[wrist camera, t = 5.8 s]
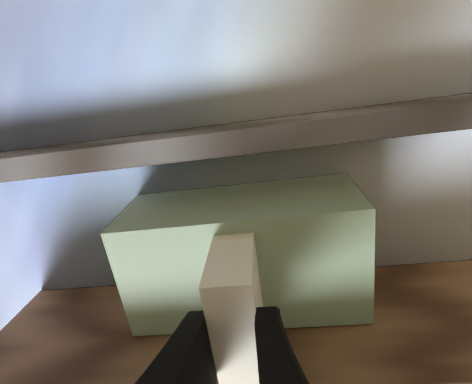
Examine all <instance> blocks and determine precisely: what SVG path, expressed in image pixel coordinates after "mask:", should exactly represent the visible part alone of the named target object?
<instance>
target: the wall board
mask: <svg viewBox="0 0 472 384" xmlns="http://www.w3.org/2000/svg"><path fill="white" fill-rule="evenodd" d="M465 129H472V93H468V94H460V95H452V96H444V97H437V98H429V99H421V100H413V101H405V102H397V103H389V104H381V105H373V106H365V107H357V108H349V109H341V110H333V111H325V112H317V113H309V114H301V115H293V116H285V117H278V118H270V119H262V120H254V121H246V122H238V123H230V124H222V125H214V126H206V127H198V128H190V129H182V130H174V131H166V132H158V133H150V134H142V135H134V136H126V137H119V138H111V139H103V140H95V141H87V142H79V143H71V144H63V145H55V146H47V147H39V148H31V149H23V150H15V151H7V152H0V183H1V182H10V181H18V180H27V179H36V178H45V177H54V176H62V175H71V174H80V173H89V172H97V171H106V170H115V169H124V168H132V167H141V166H150V165H159V164H167V163H176V162H185V161H194V160H202V159H211V158H220V157H229V156H237V155H246V154H255V153H264V152H272V151H281V150H290V149H299V148H307V147H316V146H325V145H334V144H343V143H351V142H360V141H369V140H378V139H386V138H395V137H404V136H413V135H421V134H430V133H439V132H448V131H456V130H465ZM284 329H285V332H286V334H287V337H288V340H289V342H290V344H291V347H292V349H293V351H294V353H295V355H296V358H297V360H298V362H299V364H300V366H301V368H302V370H303V372H304V374H305V376H306V378H307V380H308V382H309V383H310V384H472V260H466V261H452V262H438V263H424V264H410V265H396V266H382V267H375V274H374V324H359V325H339V326H320V327H301V328H284ZM171 335H172V334H167V335H148V336H133V335H132V332H131V329H130V326H129V322H128V319H127V316H126V313H125V310H124V307H123V304H122V301H121V297H120V294H119V291H118V288H117V285H116V286H102V287H88V288H74V289H60V290H46V291H40V292H39V293H38V294H37V295H36V296H35V297H34V298H33V299H32V300H31V301H30V302H29V303H28V304H27V305H26V306H25V307H24V308H23V309H22V310H21V311H20V312H19V313H18V314H17V315H16V316H15V317H14V318H13V319H12V320H11V321H10V322H9V323H8V324H7V325H6V326H5V327H4V328H3V329H2V330H1V331H0V384H134V383H135V382H136V381H137V380H138V379H139V377H140V376H141V375H142V374H143V372H144V371H145V370H146V369H147V367H148V366H149V365H150V364H151V362H152V361H153V360H154V358H155V357H156V356H157V354H158V353H159V352H160V350H161V349H162V348H163V346H164V345H165V344H166V342H167V341H168V339H169V338H170V337H171ZM216 384H219V383H218V378H217V377H216Z"/></svg>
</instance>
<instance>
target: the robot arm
mask: <svg viewBox="0 0 472 384" xmlns="http://www.w3.org/2000/svg"><path fill="white" fill-rule="evenodd" d="M254 327H255V339H256V351H257V362H258V374H259V384H310V383H309V382H308V380H307V378H306V376H305V374H304V372H303V370H302V368H301V366H300V364H299V362H298V360H297V358H296V355H295V353H294V351H293V349H292V347H291V344H290V342H289V340H288V337H287V334H286V332H285V329H284V326H283V322H282V319H281V314H280V309H279V308H278V307H276V306H269V307H256V314H255V322H254ZM216 377H217V372H216V367H215V363H214V358H213V353H212V349H211V344H210V339H209V334H208V330H207V325H206V320H205V317H204V312H203V310H201V311H189V312H188V313H187V314H186V315H185V317H184V318H183V320H182V321H181V322H180V324H179V325H178V327H177V328H176V330H175V331H174V332H173V334H172V335H171V337H170V338H169V339H168V341H167V342H166V344H165V345H164V346H163V348H162V349H161V350H160V352H159V353H158V354H157V356H156V357H155V358H154V360H153V361H152V362H151V364H150V365H149V366H148V367H147V369H146V370H145V371H144V372H143V374H142V375H141V376H140V377H139V379H138V380H137V381H136V382H135V383H134V384H216Z"/></svg>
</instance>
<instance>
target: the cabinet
mask: <svg viewBox="0 0 472 384" xmlns="http://www.w3.org/2000/svg"><path fill="white" fill-rule="evenodd" d="M375 223H376V209H375V207H374V206H373V205H372V204H371V202H370V201H369V200H368V199H367V198H366V196H365V195H364V194H363V193H362V191H361V190H360V189H359V188H358V187H357V185H356V184H355V183H354V182H353V180H352V179H351V178H350V177H349V176H348V174H347V173H342V174H333V175H323V176H314V177H304V178H294V179H285V180H275V181H266V182H256V183H246V184H237V185H227V186H218V187H208V188H198V189H189V190H179V191H170V192H160V193H150V194H141V195H137V196H136V197H135V198H134V199H133V200H132V201H131V202H130V203H129V205H128V206H127V207H126V208H125V209H124V210H123V211H122V212H121V213H120V214H119V215H118V216H117V217H116V218H115V219H114V220H113V221H112V222H111V223H110V224H109V225H108V226H107V227H106V228H105V230H104V231H103V232H102V233H101V234H100V235H101V238H102V241H103V244H104V247H105V250H106V253H107V257H108V260H109V263H110V266H111V269H112V272H113V275H114V279H115V282H116V285H117V288H118V291H119V294H120V297H121V301H122V304H123V307H124V310H125V313H126V316H127V319H128V322H129V326H130V329H131V332H132V335H133V336H148V335H167V334H173V332H174V331H175V330H176V328H177V327H178V325H179V324H180V322H181V321H182V320H183V318H184V317H185V315H186V314H187V313H188V312H189V311H201V310H203V312H204V317H205V320H206V325H207V330H208V334H209V339H210V344H211V349H212V353H213V358H214V363H215V367H216V372H217V378H218V383H219V384H259V374H258V362H257V351H256V339H255V327H254V322H255V314H256V307H269V306H276V307H278V308H279V309H280V314H281V319H282V322H283V326H284V328H301V327H320V326H339V325H359V324H374V274H375Z"/></svg>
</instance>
